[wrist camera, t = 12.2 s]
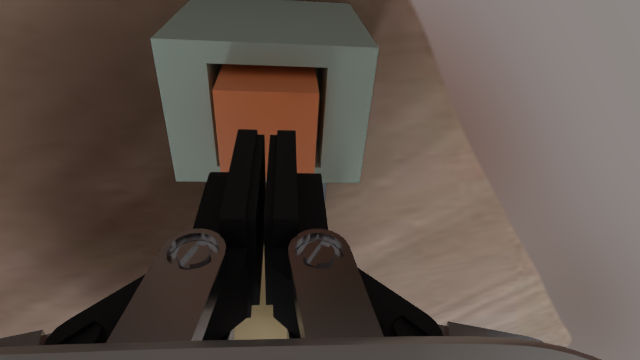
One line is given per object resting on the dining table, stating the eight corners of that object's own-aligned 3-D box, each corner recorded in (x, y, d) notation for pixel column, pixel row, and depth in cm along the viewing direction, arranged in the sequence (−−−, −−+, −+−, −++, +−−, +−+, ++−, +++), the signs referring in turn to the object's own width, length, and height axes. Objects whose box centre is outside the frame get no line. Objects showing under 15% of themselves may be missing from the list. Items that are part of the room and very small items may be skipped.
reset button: (310, 140, 18) (313, 179, 16) (230, 138, 18) (221, 178, 15) (313, 62, 16) (319, 93, 13) (224, 59, 16) (212, 90, 13)
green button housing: (339, 108, 24) (359, 183, 18) (206, 104, 23) (176, 181, 17) (349, 3, 21) (378, 47, 14) (194, -5, 20) (150, 38, 13)
